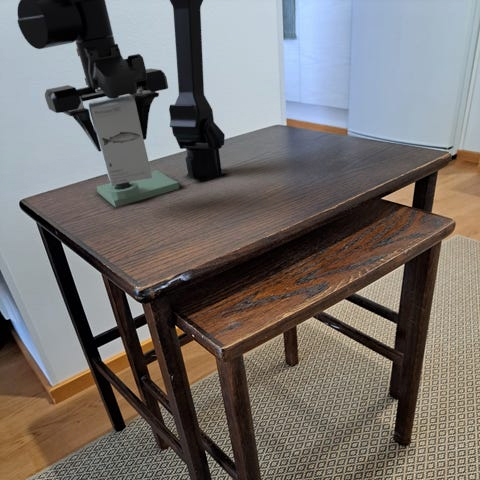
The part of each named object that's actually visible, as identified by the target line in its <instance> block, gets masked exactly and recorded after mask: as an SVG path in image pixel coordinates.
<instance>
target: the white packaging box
mask: <svg viewBox="0 0 480 480" xmlns="http://www.w3.org/2000/svg"><path fill="white" fill-rule="evenodd" d="M87 105H88V109H89V113H90V118H91V122H92V124H93V127H94V129H95V132H96V135H97V137H98V141H99V145H100V148H101V151H100V153H101V156H102V159H103V163H104V167H105V171H106V174H107V177H108V180H109V183H111V186H114V185H117V184H121V183H126V182H131V181H136V180H142V179H148V178H152V174H151V172H152V170H151V165H150V161H149V157H148V152H147V148H146V144H145V140H144V139H143V135H142V130H141V125H140V121H139V116H138V112H137V107H136V103H135V100H134V99H133V97H132V96H131V95H130V94H127V95H122V96H119V97H118V98H114V99H111V98H108V97H103V98H97V99H92V100H87Z"/></svg>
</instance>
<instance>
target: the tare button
mask: <svg viewBox="0 0 480 480" xmlns="http://www.w3.org/2000/svg"><path fill="white" fill-rule="evenodd" d="M115 186H116V189H118V190H120V189H126V188H129V187H130V183H129V182H126V183H121V184H117V185H115Z"/></svg>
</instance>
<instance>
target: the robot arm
mask: <svg viewBox="0 0 480 480" xmlns="http://www.w3.org/2000/svg"><path fill="white" fill-rule="evenodd" d="M203 2H204V0H169V3H170V4H171V6H172V10H173V21H174V22H173V24H174V27H173V28H174V41H175V57H176V58H175V59H176V72H177V73H176V74H177V85H178V96H177V98H176V100H175V103H174V104H170V105H169V108H168V111H169V118H170V122H169V128H171V132H172V135H173V137H174V138H175V140H176V142H177V145H178V147H179V149H180V150H184V149H185V151H186V156H185V163H186V170H187V174H186V175H187V177H188V178H190V179H192V180H194V181H196V182H198V183H203V182H207V181H209V180H214V179H216V178H220V177H223V176H226V172H225V171H224V170H222V165H221V164H222V163H221V154H220V149H222V148H223V146H225V139H226V136H225V133H224V132H223V131H222V129H221V128H220V127H219V126H218V125H217V123H216V122H215V120H214V119H215V118H214V111H213V108H212V107H211V104H210V103H209V101H208V99H207V97H206V95H205V88H204V87H205V84H204V82H205V81H204V63H203V37H202V18H201V17H202V14H201V13H202V11H201V10H202V9H201V7H202V5H203ZM108 11H109V10H108V7H107V3H106V0H19V2H18V5H17V24H18V28H19V30H20V32H21V34H22V37H24V39H25V40H26V42H27V43H28V44H29V45H30V46H31V47H33V48H34V49H37V50H42V49H47V48H53V47H58V46H63V45H68V44H73V43H74V42H75V45H76V49H75V50H76V54H77V56H78V57H79V59H80V62H81V67H82V70H83V74H84V81H85V85H86V87H81V88H76V87H75V86H71V85H69V84H67V85H63V86H58V87H52V88H47V89H46V90H45V92H44V99H45V102H46V104H47V107H48V110H50V111H52V112H54V113H56V114H60V113H63V114H65V115H67V116H69V117H72V118H73V119H74V120H75V122H77V124H78V125H79V126H80V127H81V129H82V130H83V131H84V133H85V135H86V136H87V137H88V139H89V140H90V142H91V143H92V145H93V146H94V147H95V149H96V150H97V152H100V153H101V148H100V145H99V141H98V137H97V135H96V131H95V128H94V124H93V121H92V118H91V113H90V109H89V108H86V107H85V106H84V102H88V101H92V100H98V99H102V98H111V99H114V98H118V97H119V96H123V95H129V94H130V95H131V96H132V97H133V99H134V100H135V103H136V107H137V112H138V116H139V121H140V125H141V130H142V135H143V139H144V141H145V140H147V136H148V135H147V134H148V125H149V116H150V110H151V105H152V103H153V101H154V100H155V98H158V97H160V92H159V91H164V90H168V89H169V84H168V79H167V76H166V74H165V72H164V71H163V70H162V69H158V68H157V69H156V68H146V65H145V60H144V56H142V55H141V54H140V53H137V54H131V55H127V58H124V57H123V56H122V54H121V50H120V48H119V44H118V43H116V40H115V37H114V31H113V28H112V23H111V20H110V16H109V12H108Z"/></svg>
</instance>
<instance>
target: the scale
mask: <svg viewBox="0 0 480 480" xmlns="http://www.w3.org/2000/svg"><path fill="white" fill-rule="evenodd" d="M151 174H152V178H148V179H142V180H136V181H131V182H129V183H130V187H129V188H126V189H120V190H118V189H116V186H115V185H114V186H111V183H110V182H108V183H105V184H100V185H97V186H96V189H97V193H98V194H99V195H100V196H102V197H103V198H104V199H105V200H106V201H107V202H108V203H110V204H111V205H112V206H113V207H115V208H118V207H122V206H126V205H128V204H132V203H136V202H139V201H143V200H145V199H148V198H149V199H150V198H153V197H156V196H159V195H163V194H167V193H169V192H172V191H176V190H179V189H180V184H179V181H177V180H175V179H173V178H171V177H169V176H167V175H165V173H161V172H160V171H158V170H151Z"/></svg>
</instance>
